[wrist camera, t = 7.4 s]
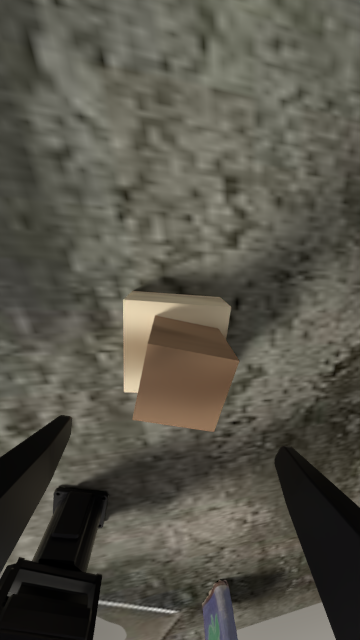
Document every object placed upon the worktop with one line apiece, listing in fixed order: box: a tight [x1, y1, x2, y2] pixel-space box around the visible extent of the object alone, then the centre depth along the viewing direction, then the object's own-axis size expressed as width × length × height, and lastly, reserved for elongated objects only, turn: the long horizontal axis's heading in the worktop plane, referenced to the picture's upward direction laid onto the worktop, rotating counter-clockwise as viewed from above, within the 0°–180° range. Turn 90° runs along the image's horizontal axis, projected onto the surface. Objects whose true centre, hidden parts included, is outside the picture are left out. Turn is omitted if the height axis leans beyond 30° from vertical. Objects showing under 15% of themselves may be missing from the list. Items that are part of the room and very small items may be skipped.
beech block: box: [123, 291, 231, 393], centre depth 18 cm, size 8×8×4 cm
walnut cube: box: [132, 315, 239, 432], centre depth 14 cm, size 5×5×5 cm
